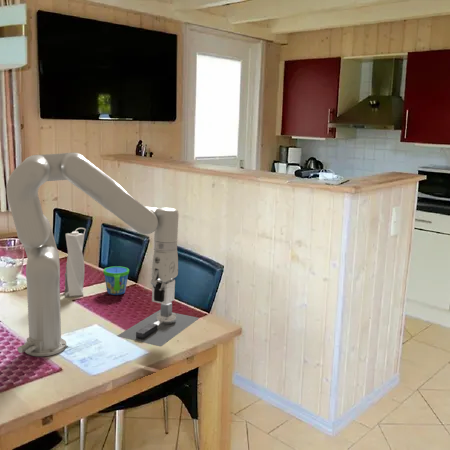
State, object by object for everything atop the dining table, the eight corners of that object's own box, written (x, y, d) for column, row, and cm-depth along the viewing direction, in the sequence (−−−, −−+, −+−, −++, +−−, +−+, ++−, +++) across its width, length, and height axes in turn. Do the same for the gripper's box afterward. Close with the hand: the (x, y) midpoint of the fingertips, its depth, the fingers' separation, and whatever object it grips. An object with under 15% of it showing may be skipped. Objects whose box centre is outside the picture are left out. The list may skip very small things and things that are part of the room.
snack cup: (128, 299, 210) (128, 275, 208) (101, 299, 208) (101, 275, 206) (129, 286, 225) (130, 264, 223) (105, 286, 223) (105, 264, 221)
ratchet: (148, 341, 169) (149, 321, 167) (130, 337, 171) (130, 317, 170) (179, 320, 188) (179, 302, 186) (162, 316, 190) (163, 298, 189)
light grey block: (166, 304, 168) (167, 284, 166) (151, 301, 170) (152, 281, 169) (174, 299, 173) (175, 279, 171) (160, 296, 175) (161, 277, 173)
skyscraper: (85, 290, 218) (84, 225, 212) (87, 296, 210) (86, 229, 205) (64, 292, 215) (63, 226, 209) (65, 298, 207) (64, 230, 202)
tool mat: (160, 348, 165) (160, 346, 165) (116, 338, 172) (116, 335, 172) (199, 319, 191) (199, 317, 191) (159, 311, 197) (159, 309, 197)
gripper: (162, 252, 159) (159, 308, 162) (187, 242, 174) (185, 293, 177) (141, 248, 161) (139, 303, 165) (168, 239, 177) (166, 289, 180)
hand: (163, 298), depth 171 cm, fingers closed on light grey block, 5 cm apart
